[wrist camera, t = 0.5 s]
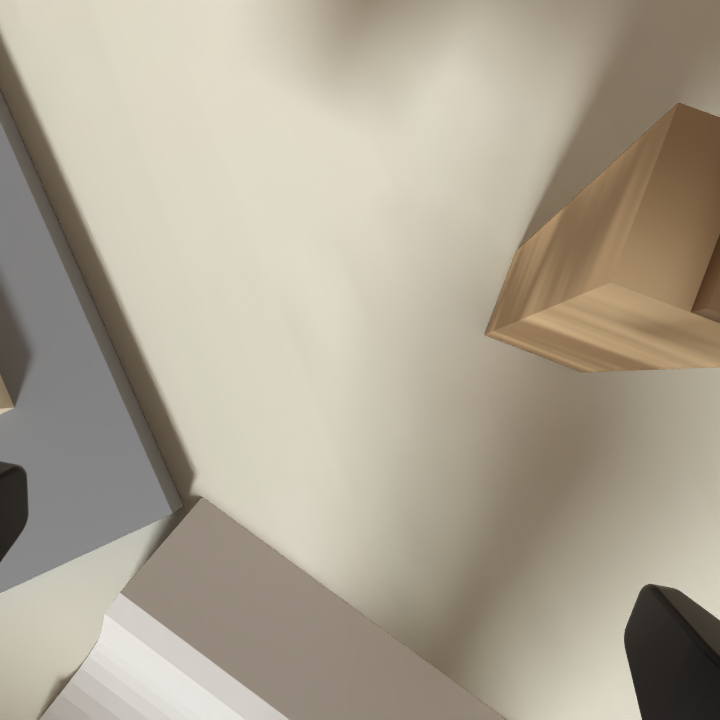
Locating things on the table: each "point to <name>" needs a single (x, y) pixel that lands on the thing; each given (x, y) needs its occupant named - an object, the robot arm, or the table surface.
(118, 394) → the groove board
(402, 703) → the crown molding
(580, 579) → the table surface
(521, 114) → the table surface
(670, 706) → the robot arm
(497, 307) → the wooden board
